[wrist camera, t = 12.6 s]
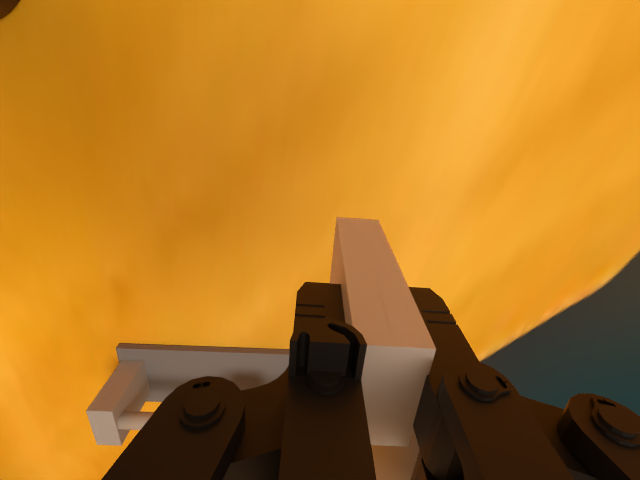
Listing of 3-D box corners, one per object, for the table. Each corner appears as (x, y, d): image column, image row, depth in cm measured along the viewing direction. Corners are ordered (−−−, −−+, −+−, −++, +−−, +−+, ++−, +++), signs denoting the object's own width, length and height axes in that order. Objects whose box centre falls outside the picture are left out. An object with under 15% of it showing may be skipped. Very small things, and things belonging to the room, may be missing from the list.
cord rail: (132, 395, 52) (82, 478, 41) (119, 343, 48) (61, 420, 37) (329, 401, 53) (333, 484, 42) (334, 351, 49) (339, 428, 38)
